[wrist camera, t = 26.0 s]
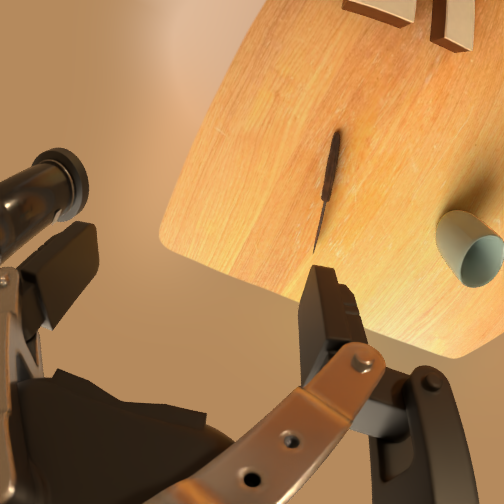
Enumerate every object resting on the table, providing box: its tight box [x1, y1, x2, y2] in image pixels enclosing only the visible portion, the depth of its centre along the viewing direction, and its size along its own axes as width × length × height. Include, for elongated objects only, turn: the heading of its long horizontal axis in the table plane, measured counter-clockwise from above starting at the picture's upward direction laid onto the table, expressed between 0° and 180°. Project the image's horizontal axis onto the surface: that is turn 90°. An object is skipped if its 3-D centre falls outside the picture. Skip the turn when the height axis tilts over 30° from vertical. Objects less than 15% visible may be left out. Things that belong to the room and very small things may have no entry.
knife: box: [313, 132, 340, 253], centre depth 37 cm, size 16×1×2 cm, turn 174°
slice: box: [430, 0, 475, 53], centre depth 22 cm, size 4×8×4 cm, turn 172°
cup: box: [435, 210, 504, 288], centre depth 33 cm, size 8×8×10 cm
